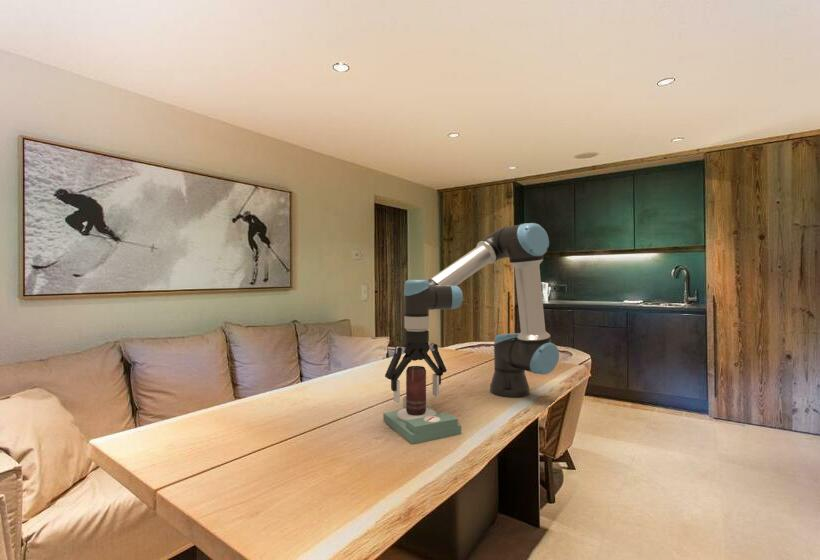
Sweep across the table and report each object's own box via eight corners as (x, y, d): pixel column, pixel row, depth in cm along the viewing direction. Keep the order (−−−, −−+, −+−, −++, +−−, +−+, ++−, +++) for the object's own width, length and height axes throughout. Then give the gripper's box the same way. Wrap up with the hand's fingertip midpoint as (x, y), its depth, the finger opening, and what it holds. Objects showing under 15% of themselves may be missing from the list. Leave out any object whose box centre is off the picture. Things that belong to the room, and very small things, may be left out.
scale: (427, 413, 135) (427, 398, 135) (461, 433, 117) (461, 416, 117) (383, 420, 128) (383, 405, 128) (412, 444, 110) (412, 426, 110)
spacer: (411, 407, 141) (411, 395, 141) (416, 410, 138) (416, 399, 138) (401, 409, 140) (401, 397, 140) (406, 412, 136) (406, 400, 136)
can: (404, 415, 123) (404, 369, 123) (408, 408, 129) (408, 364, 129) (424, 416, 122) (424, 370, 122) (427, 409, 128) (427, 365, 128)
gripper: (444, 326, 134) (444, 390, 134) (374, 330, 122) (374, 400, 123) (457, 328, 127) (457, 396, 127) (384, 333, 116) (384, 407, 116)
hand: (416, 398), depth 125 cm, fingers open, 13 cm apart
